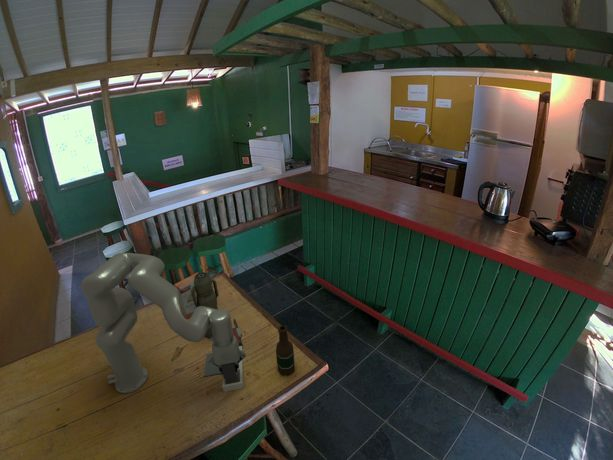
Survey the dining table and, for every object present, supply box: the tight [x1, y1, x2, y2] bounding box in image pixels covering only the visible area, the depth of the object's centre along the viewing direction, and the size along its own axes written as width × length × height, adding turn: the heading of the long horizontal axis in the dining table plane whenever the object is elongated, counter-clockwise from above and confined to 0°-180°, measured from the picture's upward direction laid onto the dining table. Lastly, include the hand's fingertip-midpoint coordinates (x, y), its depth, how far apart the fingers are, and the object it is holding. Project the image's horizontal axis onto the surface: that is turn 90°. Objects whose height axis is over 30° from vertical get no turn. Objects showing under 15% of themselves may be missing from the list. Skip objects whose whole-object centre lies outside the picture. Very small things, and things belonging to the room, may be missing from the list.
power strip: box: [221, 346, 244, 393], centre depth 136 cm, size 8×20×8 cm, turn 11°
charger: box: [221, 362, 236, 379], centre depth 128 cm, size 5×5×8 cm
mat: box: [203, 352, 222, 378], centre depth 141 cm, size 8×12×1 cm, turn 11°
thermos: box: [191, 271, 220, 340], centre depth 150 cm, size 9×12×35 cm
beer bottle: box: [275, 325, 296, 376], centre depth 132 cm, size 8×8×24 cm
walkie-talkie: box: [232, 318, 244, 348], centre depth 155 cm, size 9×4×20 cm
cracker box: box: [173, 272, 199, 320], centre depth 169 cm, size 14×6×21 cm, turn 139°
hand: (229, 370), depth 129 cm, fingers closed on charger, 5 cm apart
